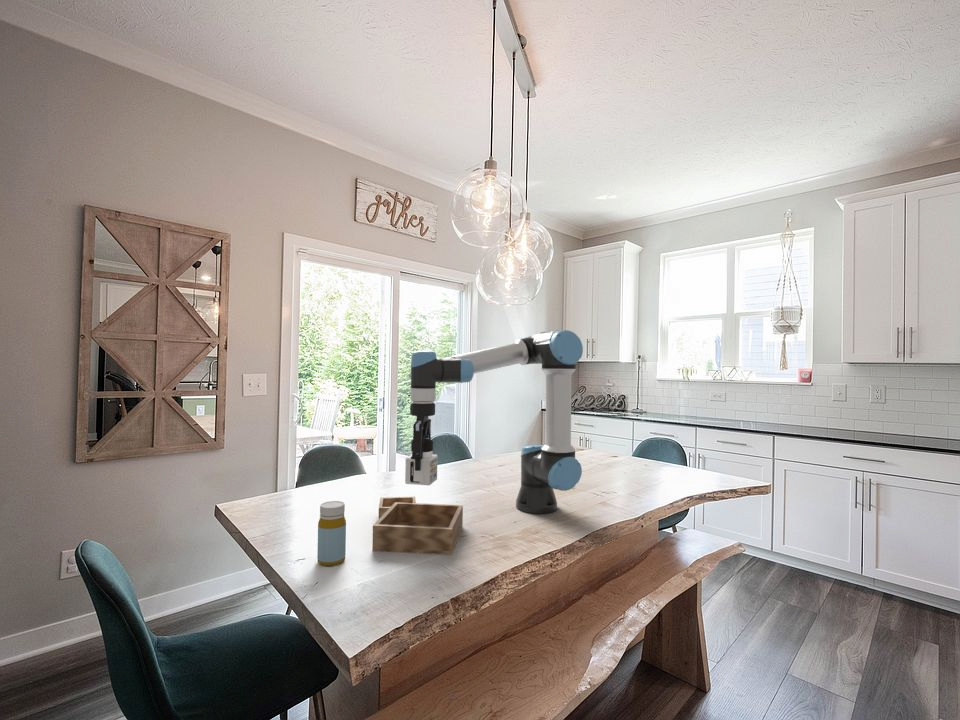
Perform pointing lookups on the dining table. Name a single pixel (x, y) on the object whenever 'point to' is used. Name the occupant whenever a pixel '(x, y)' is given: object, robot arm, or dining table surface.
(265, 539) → the dining table surface
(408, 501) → the small crate
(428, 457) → the container
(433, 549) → the crate
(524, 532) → the dining table surface
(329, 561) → the bottle
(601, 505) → the dining table surface
